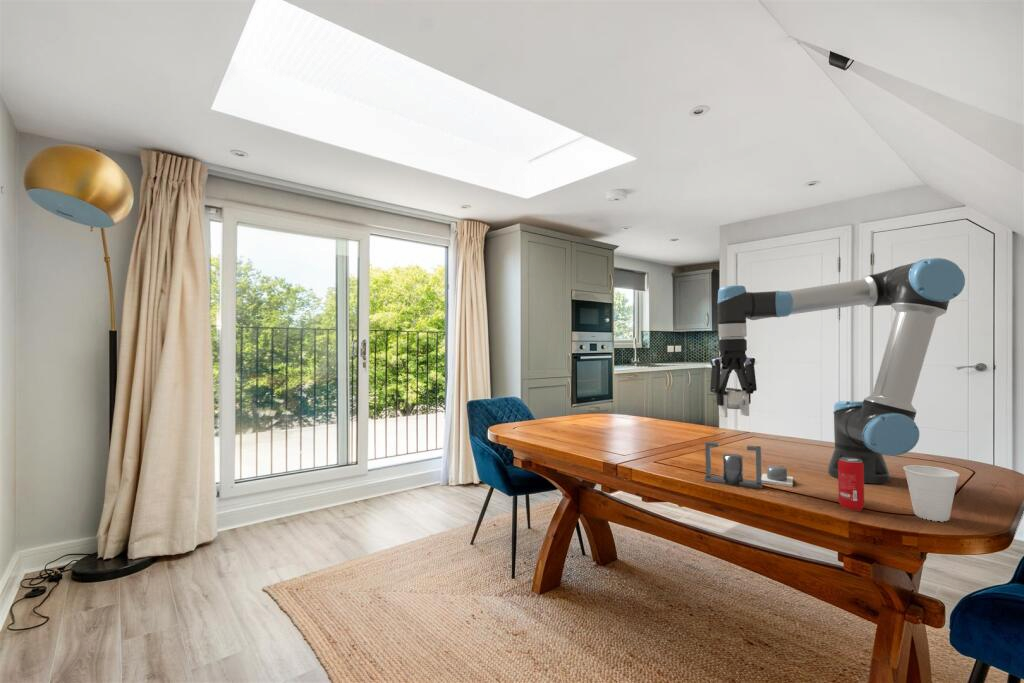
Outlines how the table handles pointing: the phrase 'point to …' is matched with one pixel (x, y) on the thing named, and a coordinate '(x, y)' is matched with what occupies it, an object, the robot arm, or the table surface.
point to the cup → (931, 491)
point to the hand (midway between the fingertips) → (734, 415)
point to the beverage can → (851, 483)
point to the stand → (777, 476)
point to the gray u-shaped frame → (733, 468)
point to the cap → (736, 399)
